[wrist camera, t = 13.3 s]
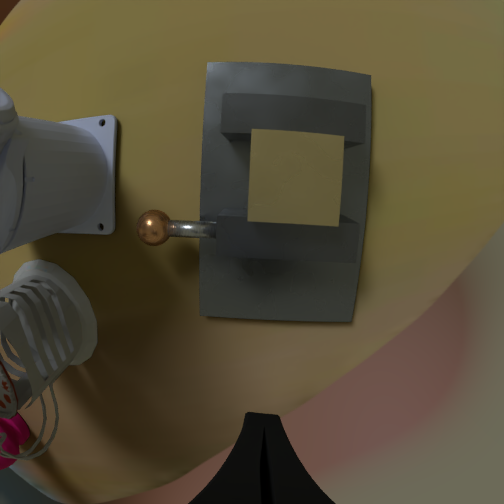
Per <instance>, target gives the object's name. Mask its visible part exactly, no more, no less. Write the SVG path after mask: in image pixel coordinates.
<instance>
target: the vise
mask: <svg viewBox="0 0 504 504" xmlns="http://www.w3.org/2000/svg"><path fill="white" fill-rule="evenodd" d="M252 129H267V130H284V131H298V132H309V133H320V134H329V135H338V136H344V154H343V173H342V189H341V203H340V215H344V216H346V217H348V218H350V219H352V220H354V221H356V222H358V223H359V224H360V233H359V242H358V251H357V259H356V263H339V262H318V261H297V260H277V259H257V258H238V257H219V256H216V239H210V238H200V248H199V286H200V316H213V317H227V318H244V319H263V320H287V321H324V322H351V321H352V315H353V309H354V303H355V297H356V291H357V284H358V277H359V270H360V263H361V255H362V247H363V239H364V229H365V220H366V209H367V197H368V183H369V167H370V146H371V75H366V74H361V73H355V72H349V71H342V70H336V69H328V68H320V67H311V66H302V65H290V64H276V63H254V62H208V65H207V77H206V91H205V106H204V122H203V141H202V163H201V192H200V221H208V222H217V215H218V214H219V213H220V212H221V211H222V210H223V209H225V208H236V209H248V196H249V174H250V152H251V131H252Z"/></svg>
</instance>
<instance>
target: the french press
mask: <svg viewBox="0 0 504 504" xmlns="http://www.w3.org/2000/svg"><path fill="white" fill-rule="evenodd" d="M5 298H9V303H7V302H5ZM0 335H1V344H2V346H3V349H4V351H5V353H6V354H7V356H8V358H10V359H11V360H12V361H14V362H15V363H16V364H17V365H19V366H21V367H23V368H25V369H26V373H24V372H22V371H19V370H16V369H14V368H13V367H12V366H11V365H9V364H8V363H7V362H6V361H4V359H3V357H2V355H1V353H0V418H6V419H11V418H13V417H15V416H16V415H17V409H18V410H19V409H20V408H21V407H22V406H23V405H24V404H25V403H26V402H27V400H28V399H29V398H30V397H31V396H32V400H31V402H30V403H29V405H28V406H27V407H29V406H31V405H32V403H33V402H34V401H35V400H36V399H37V398H38V397H39V396H40V400H41V404H42V409H43V417H44V419H43V425H42V429H41V432H40V435H39V437H38V439H37V440H36V442H35V443H34V444H33V446H32V447H31V448H30V449H29V450H27V451H26V452H24V453H21V454H18V455H13V454H10V453H8V452H6V451H4V450H3V448H2V446H1V445H2V444H3V442H4V441H5V439H6V437H7V435H6V433H0V436H2V437H1V439H0V451H1V452H2V453H1V452H0V456H2V457H5V458H13V459H20V460H30V459H33V458H35V457H38V456H40V455H41V454H43V453H44V452H45V451H47V449H48V447H49V446H50V444H51V442H52V441H53V439H54V437H55V434H56V431H57V427H58V420H59V415H58V405H57V401H56V398H55V394H54V391H53V383H54V382H55V380H56V379H57V378H58V377H59V376H60V375H61V373H62V372H63V371H64V370H65V369H66V368H67V367H68V366H69V365H80V364H81V363H83V362H84V361H86V360H87V359H89V358H91V356H92V354H93V351H94V349H95V347H96V345H97V342H98V340H97V320H96V318H95V315H94V312H93V309H92V307H91V304H90V301H89V298H88V297H87V296H86V294H85V293H84V291H83V290H82V289H81V287H80V286H79V284H78V283H77V281H76V280H75V279H74V278H73V277H72V276H71V275H70V274H68V273H67V272H66V271H65V270H63V269H62V268H61V267H60V266H58V265H57V264H55V263H51V262H48V261H44V260H41V259H37V260H34V261H30V262H26V263H24V264H23V265H22V266H21V268H20V269H19V270H18V271H17V272H16V274H15V275H14V279H13V283H12V284H10V285H9V286H7V287H5V288H3V289H1V290H0ZM6 338H7V340H8V341H9V342H10V344H11V345H12V346H13V348H14V349H15V350H16V352H17V353H18V355H19V357H20V359H21V360H20V359H19V358H18V357H17V356H15V355H14V354H13V353H12V352H11V350H10V348H9V346H8V344H7V342H6ZM35 362H36V363H35ZM7 371H8V372H10V373H11V374H13V375H16V376H18V377H21V378H20V379H19V380H18V381H16V380H13V379H11V378H10V376H9V374H8V372H7ZM48 385H49V387H50V391H51V394H52V398H53V402H54V406H55V413H56V420H55V427H54V430H53V432H52V435H51V437H50V439H49V440H48V442H47V443H46V445H45V446H44V448H43V449H42V450H40V451H39V452H37V453H35V454H32V455H29V456H26V455H28V454H29V453H31V452H32V451H33V450H34V449H35V447H36V446H37V445H38V443H39V442H40V441H41V439H42V436H43V433H44V429H45V425H46V420H47V417H46V407H45V403H44V400H43V397H42V394H41V393H42V392H43V391H44V390H45V389H46V388H47V386H48ZM27 407H26V408H27ZM26 408H25V409H26Z"/></svg>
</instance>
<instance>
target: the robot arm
mask: <svg viewBox="0 0 504 504" xmlns="http://www.w3.org/2000/svg"><path fill="white" fill-rule="evenodd" d="M103 120H105V122H106V123H105V125H104V126H102V121H103ZM116 136H117V118H116V117H115V116H113V115H105V116H97V117H89V118H82V119H75V120H69V121H63V122H52V121H46V120H41V119H35V118H29V117H23V116H18V115H17V112H16V111H15V107H14V103H13V100H12V99H11V97H10V96H9V95H8V94H7V93H6V92H5V91H4V90H3V89H1V88H0V254H1V253H4V252H6V251H9V250H11V249H14V248H16V247H19V246H22V245H24V244H27V243H30V242H32V241H35V240H38V239H41V238H43V237H46V236H49V235H52V234H55V233H78V234H105V235H108V234H111V233H113V232H114V230H115V157H116ZM100 224H103V226H104V229H103V230H102V229H101V228H100ZM188 504H335V503H334V502H333V501H332V500H331V499H330V498H329V497H328V496H327V495H326V494H325V493H324V492H323V491H322V490H321V489H320V487H319V486H318V485H317V484H316V483H315V481H314V480H313V479H312V478H311V476H310V475H309V474H308V472H307V471H306V470H305V468H304V466H303V465H302V463H301V462H300V460H299V458H298V457H297V455H296V453H295V451H294V449H293V448H292V446H291V444H290V442H289V439H288V437H287V435H286V433H285V430H284V428H283V426H282V423H281V420H280V417H279V416H278V415H273V414H263V413H254V412H247V413H245V418H244V423H243V427H242V430H241V433H240V435H239V437H238V439H237V441H236V444H235V446H234V448H233V449H232V451H231V453H230V454H229V456H228V458H227V459H226V461H225V462H224V464H223V465H222V467H221V468H220V470H219V471H218V472H217V474H216V475H215V476H214V477H213V479H212V480H211V481H210V482H209V483H208V485H207V486H206V487H205V488H204V489H203V490H202V491H201V492H200V493H199V494H198V495H197V496H196V497H195V498H194V499H193V500H192V501H191V502H189V503H188Z"/></svg>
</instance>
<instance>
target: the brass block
mask: <svg viewBox="0 0 504 504" xmlns="http://www.w3.org/2000/svg"><path fill="white" fill-rule="evenodd" d="M343 154H344V136H338V135H329V134H320V133H309V132H298V131H284V130H267V129H252V131H251V152H250V174H249V196H248V219H247V221H252V222H271V223H289V224H306V225H322V226H337V227H338V226H339V215H340V203H341V189H342V173H343Z"/></svg>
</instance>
